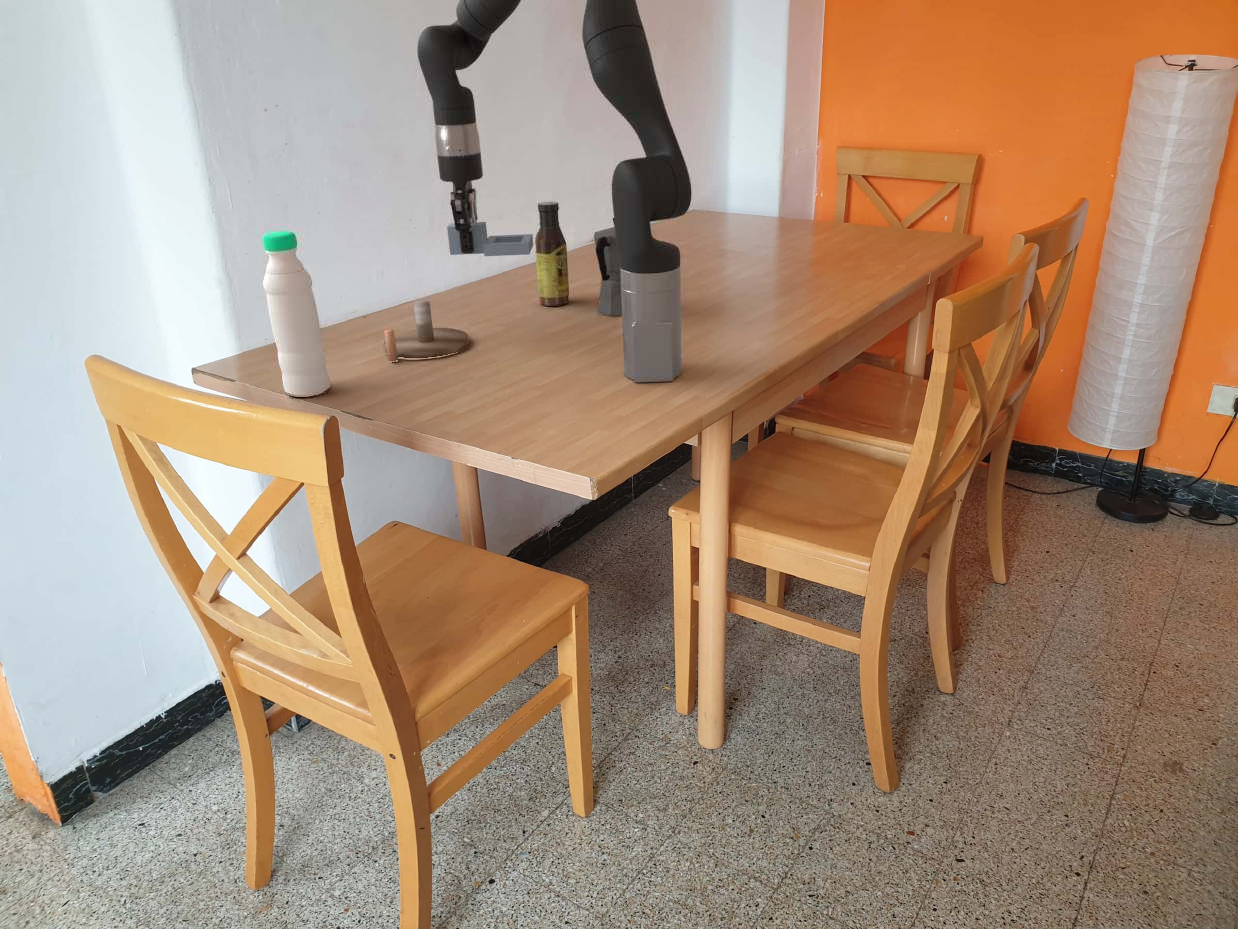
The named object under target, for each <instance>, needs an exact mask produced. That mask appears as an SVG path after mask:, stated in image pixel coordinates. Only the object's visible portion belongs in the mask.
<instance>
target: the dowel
mask: <svg viewBox="0 0 1238 929" xmlns="http://www.w3.org/2000/svg"><path fill="white" fill-rule="evenodd" d="M383 332H384V340H385V341H386V346H387V353H388V356H387V360H388V362H389V361H396V360H398V361H399V359H398V355H397V348H396V341H395V335H396V334H395V330H394V329H391V328H390V329H385V330H384V331H383Z"/></svg>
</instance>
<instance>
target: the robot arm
mask: <svg viewBox="0 0 1238 929" xmlns="http://www.w3.org/2000/svg"><path fill="white" fill-rule="evenodd" d="M521 1H522V0H459V1H458V4H457V5H456V8H455V12H456V17H457V19H456V20H455V21H454V22H453V23H452V24H444V25H441V24H440V25H437V24H436V25H431V26H428V27H426V28H424V29H423V31H421V33H420V35H419V38H418V41H417V58H418V62H419V66H420V69H421V72H422V76H423V78H424V81H425V84H426V86H427V90H428V91H429V95H430V97H431V100H432V107H433V109H432V110H433V117H434V118H433V119H434V126H435V129H434V130H435V132H434V133H435V135H434V136H435V137H434V138H435V139H434V140H435V146H436V157H437V163H438V164H437V165H438V172H439V179H440V180H441V181H443V182H446V183H448V182H449V183H452V191H451V192H450V202H449V204H450V207H451V212H452V218H453V223H455V229H456V231H458V232H459V235H460V244H461V252H462V253H473V251H474V245H473V235H472V230H473V227H472V222H478V219H479V218H478V208H477V189H476V187H474V188H473V183H472V181H473V182H474V181H477V180H481V179H482V178H483V176H484V172H483V162H482V153H481V152H482V151H481V141H480V134H479V131H478V127H477V116H476V115H477V114H476V109H475V108H476V107H475V105H476V104H475V99H474V98H475V97H474V94H473V92H472V90H471V89H470V88H469V87H467V86H464V85H461V82H460V80H459V77H458V75H457V71H462V70H464V69H468V68H469V67H470V66H472V65H473V64H474V63H475V62H476V61H477V60H478V59H479V58H480V56H481V55H482V53H483V51H484V49H486V46H487V44H488V43H489V41H490V39H491V36H492V35H493V34H494V33H495V32H496V31H497V30H498V29H499V28H500V27H501V26H502V25H503V24H504V23H505V22H506V21H507V19H508V18H510V16H511V15H513V13H514V12H515V10H516V9H517V8H518V6H519V5H520V3H521ZM582 20H583V21H582V31H581V32H582V35H581V36H582V42H583V48H584V50H585V54H586V55H585V56H586V59H587V62H588V66H589V67H588V68H589V70H590V73H591V77H592V79H593V82H594V83H595V86H596V87H597V89H598V90H599V91H600V93H601V94H602V95H603V97H604V98H605V99H606V100H607V101H608V102H609V103H610V104H611V105H612V106H613V108H614V109H615V110H616V111H617V112H618V113H620V115H621V116H622V117H623V118H624V119H625V121H626V122H627V123H628V124H629V125H630V126H631V128H632V130H634V132H635V134H636V135H637V138H638V139H639V141H640V144H641V147H642V149H643V151H644V154H645V157H636V158H629V159H625V160H622V161H620V162H619V163H618V164H617V165H616V166H615V168H614V171H613V174H612V180H611V202H612V211H613V218H614V223H615V235H616V245H617V249H618V253H619V257H620V273H621V301H622V317H621V318H622V322H621V323H622V324H621V325H622V345H623V347H622V348H623V364H624V366H623V367H624V368H623V369H624V376H626V377H627V378H628V379H631V380H632V381H633V383H654V382H655V383H656V382H658V383H659V382H674V379H675V378H678V377H679V376H680V375H681V374H682V363H683V362H682V361H683V360H682V359H683V358H682V353H683V352H682V308H681V307H682V304H681V303H682V302H681V301H682V298H681V297H682V292H681V288H682V287H681V285H682V284H681V283H682V282H681V281H682V280H681V279H682V278H681V277H682V276H681V251H680V248H679V247H678V246H677V245H676V244H674V243H671V242H666V241H663V240H659V239H657V238H655V237H654V236H653V234H652V229H651V222H657V221H663V220H671V219H675V218H679V217H682V216H685V214H686V213H687V212H688V211H689V208H690V207H691V202H692V192H693V191H692V184H691V183H692V182H691V177H690V174H689V170H688V166H687V163H686V160H685V158H684V155H683V152H682V150H681V149H682V148H681V147H680V145H679V141H678V138H677V136H676V133H675V131H674V129H673V126H672V123H671V120H670V118H669V115H668V112H667V109H666V105H665V102H664V99H663V96H662V92H661V89H660V85H659V82H658V78H657V74H656V71H655V67H654V63H653V57H652V54H651V50H650V46H649V43H648V40H647V35H646V31H645V29H644V25H643V22H642V19H641V16H640V13H639V9H638V4H637V1H636V0H586V5H585V10H584V16H583V19H582ZM614 223H613V224H614Z"/></svg>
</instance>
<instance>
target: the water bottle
mask: <svg viewBox="0 0 1238 929" xmlns="http://www.w3.org/2000/svg"><path fill="white" fill-rule="evenodd" d="M262 245H263V248H264V250H265V253H266V254H267V255H268V256H269V258H268V262H267V265H266V269H265V270H266V271H265V274H264V277H263V282H262V285H263V290H264V291H265V293H266V299H267V300H266V301H267V309H268V314H269V319H270V325H271V329H272V330H271V331H272V334H273V337H274V341H275V344H276V345H275V346H276V348H277V358H278V364H279V367H280V370H281V376H282V377H281V378H282V385H283V391H284V390H285V391H284V393H285V392H287V393H290V394H294V395H311V394H317V393H321V392H323V391H325V390H327V389H328V388H329V389H330V387H331V380H330V376H329V371H328V368H327V366H326V365H327V364H326V363H327V362H326V361H327V360H326V354H325V349H324V346H323V344H322V332H321V327H320V326H321V325H320V320H319V314H318V309H317V304H316V300H315V299H316V298H315V297H314V296H315V295H314V292H313V288H312V286H313V279H312V277H311V275H310V273H309V272H308V270H307V269H306V268H305V267H304V264H303V262H302V261H301V260H300V259H299V258H298V256H297V253H296V252H297V251H298V240H297V237H296V234H295V233H294V232H292V231H286V230H283V231H282V230H281V231H273V232H269V233H266V234H264V235H263V236H262ZM329 389H328V390H329ZM328 390H327V391H328Z"/></svg>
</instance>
